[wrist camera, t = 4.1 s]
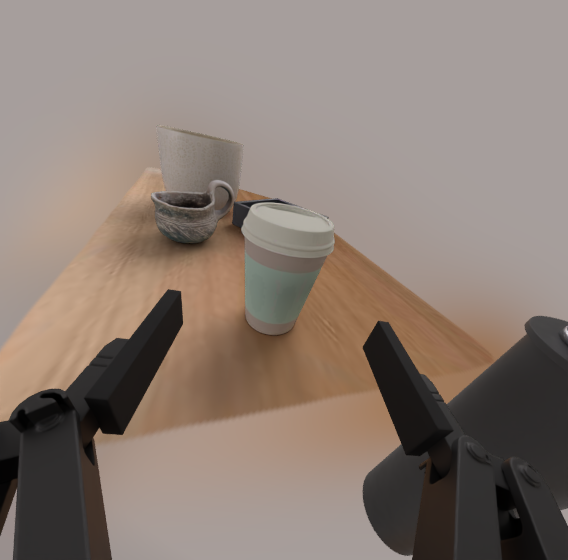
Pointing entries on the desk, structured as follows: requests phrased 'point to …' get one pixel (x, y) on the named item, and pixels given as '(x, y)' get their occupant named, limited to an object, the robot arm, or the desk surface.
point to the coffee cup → (282, 262)
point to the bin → (243, 209)
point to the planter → (198, 162)
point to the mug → (190, 213)
